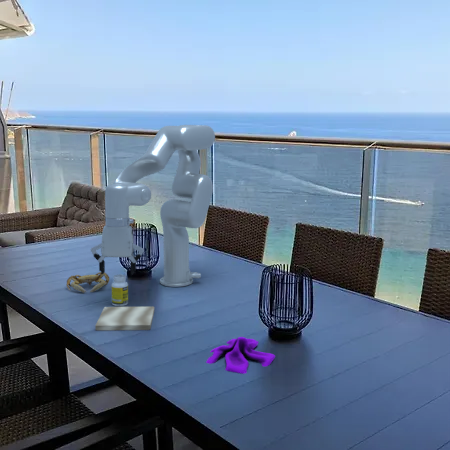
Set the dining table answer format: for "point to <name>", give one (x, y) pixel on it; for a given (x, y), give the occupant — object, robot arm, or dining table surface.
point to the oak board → (125, 318)
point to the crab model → (88, 281)
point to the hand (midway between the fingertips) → (117, 273)
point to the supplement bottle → (119, 291)
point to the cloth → (240, 355)
